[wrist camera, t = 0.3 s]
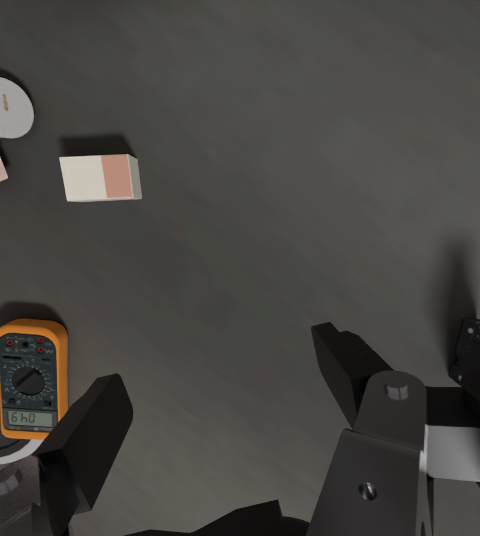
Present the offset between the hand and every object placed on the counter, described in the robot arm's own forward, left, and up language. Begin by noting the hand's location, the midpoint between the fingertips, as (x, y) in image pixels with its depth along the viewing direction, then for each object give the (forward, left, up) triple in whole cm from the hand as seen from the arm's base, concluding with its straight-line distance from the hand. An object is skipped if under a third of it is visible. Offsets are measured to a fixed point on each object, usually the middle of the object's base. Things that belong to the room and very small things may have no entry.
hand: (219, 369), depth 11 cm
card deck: (-11, -15, -28) cm, 34 cm away
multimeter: (+16, -29, -28) cm, 43 cm away
